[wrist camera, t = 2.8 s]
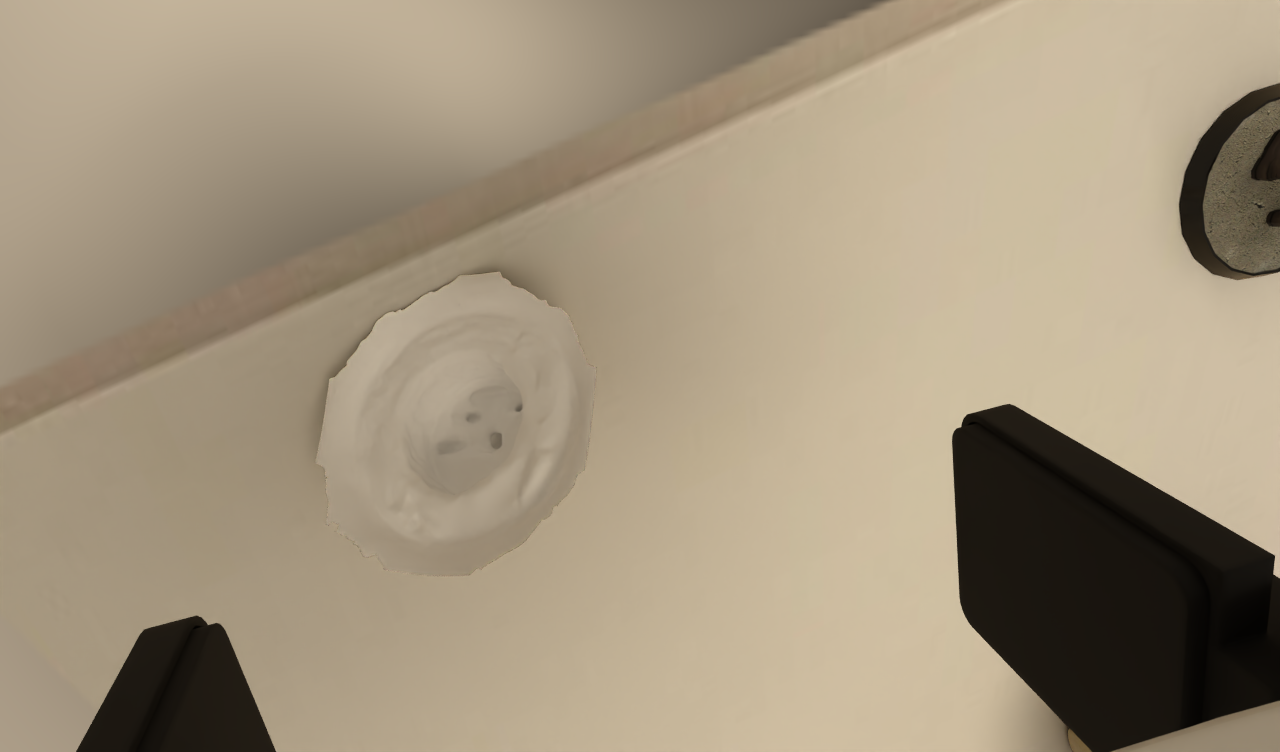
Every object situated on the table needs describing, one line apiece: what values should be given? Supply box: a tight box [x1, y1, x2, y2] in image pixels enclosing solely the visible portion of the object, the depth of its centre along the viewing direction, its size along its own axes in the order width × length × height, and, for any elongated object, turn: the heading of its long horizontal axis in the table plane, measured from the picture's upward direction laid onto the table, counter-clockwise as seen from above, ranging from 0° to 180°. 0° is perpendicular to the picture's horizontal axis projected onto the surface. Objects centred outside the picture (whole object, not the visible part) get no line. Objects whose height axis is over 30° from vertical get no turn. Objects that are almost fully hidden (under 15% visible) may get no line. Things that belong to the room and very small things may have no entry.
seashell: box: [315, 272, 597, 576], centre depth 24 cm, size 8×5×8 cm
